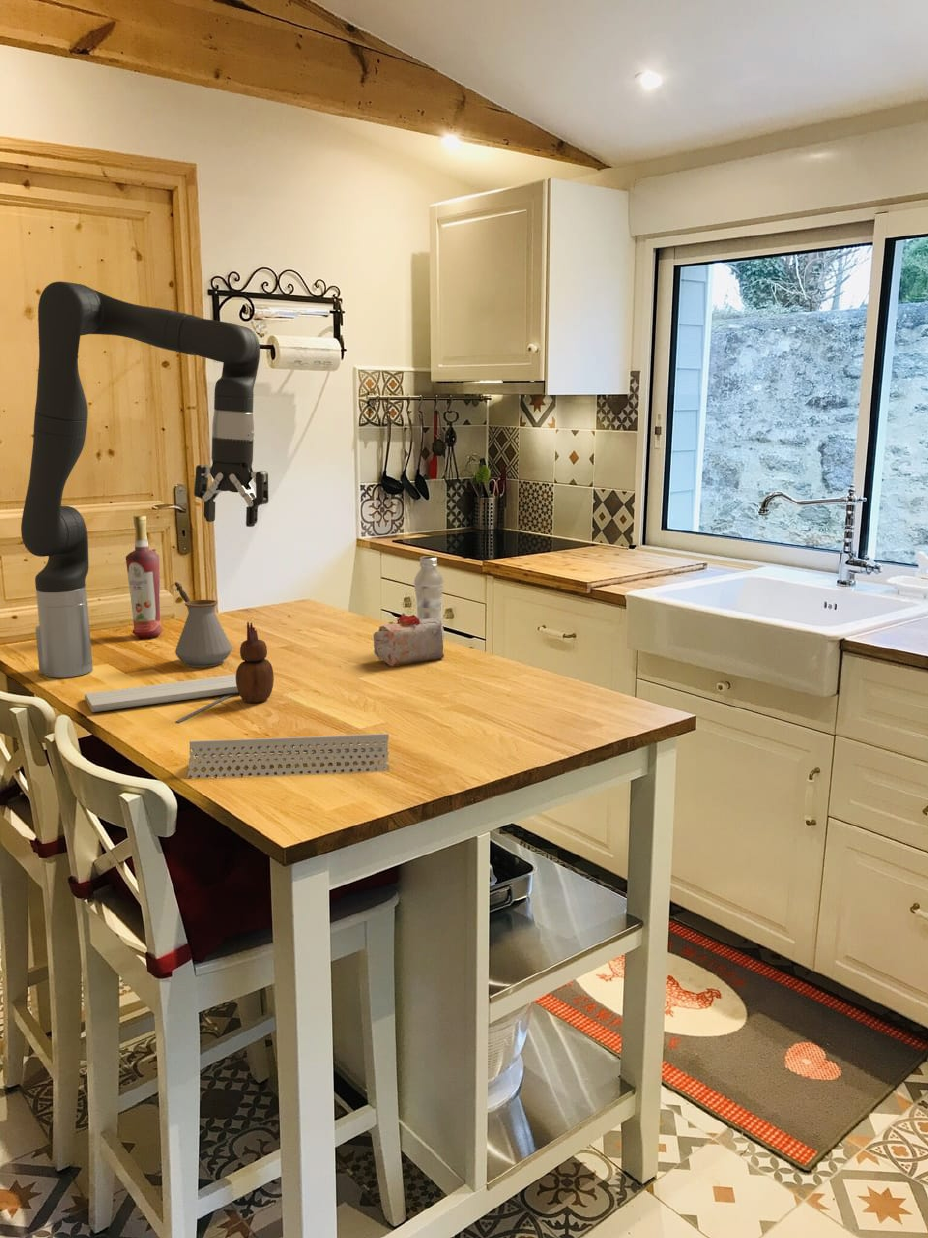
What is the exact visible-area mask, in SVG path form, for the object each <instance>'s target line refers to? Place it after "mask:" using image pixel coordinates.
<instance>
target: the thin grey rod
mask: <svg viewBox="0 0 928 1238" xmlns="http://www.w3.org/2000/svg"><path fill="white" fill-rule="evenodd" d="M236 694H238V693H231V694H225V695H224V696H223V697H221V698H219V699H217V700H215V701H213V702H211V703H209V704H207V705H205V706H203V707H201V708H199V709H197V710H195V711H193V712H191V713H189V714H188V715H185V716H183V717H181V718H180V719H178V720H177V719H176V720H175V723H176V722H180V723H182V722H185V721H186V720H188V719H190V718H192V717H194V716H196V715H198V714H200V713H202V712H204V711H206V710H208V709H210V708H212V707H213V706H215V705H217V704H219V703H221V702H223V701H225V700H227V699H230V698H231V697H233V696H235V695H236ZM207 708H208V709H207ZM205 709H206V710H205ZM203 710H204V711H203ZM201 711H202V712H201ZM199 712H200V713H199ZM197 713H198V714H197ZM195 714H196V715H195ZM193 715H194V716H193ZM191 716H192V717H191ZM189 717H190V718H189ZM185 719H186V720H185ZM181 721H182V722H181Z"/></svg>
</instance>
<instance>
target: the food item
mask: <svg viewBox="0 0 928 1238" xmlns="http://www.w3.org/2000/svg"><path fill="white" fill-rule="evenodd" d="M400 615H401V616H400V617H398V618H397V619H396V620H397V622H394V623H389V624H384V625H380V626H379V627H378V631H375V632H374V633H373V635H372V636H373V646H374V649H373V653H374V655H375V656H376V657H377V658H378V657H379V659H380V660H382V661H383V662H385V663H386V664H387V665H388V666H390V667H399V666H404V665H407V664H408V665H409V664H416V663H421V662H428V661H430V660H431V661H435V659H436V660H440V659H441V660H442V659H444V657H445V653H444V640H442V630H441V624H440V623H438V622H437V621H436V620H435V619H432V618H427V619H421V620H419V618H417V615H416V616H415V615H414V614H412V615H410V616H408V615H406V613H404V612H403V613H402V614H400Z"/></svg>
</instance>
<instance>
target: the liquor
mask: <svg viewBox="0 0 928 1238" xmlns="http://www.w3.org/2000/svg"><path fill="white" fill-rule="evenodd" d="M132 519H133V525H134V530H135V535H134V536H135V541H134V542H135V543H134V550H133V551H131V552H130V553H128V554H127V555H126V556H125V565H126V571H127V573H126V574H127V581H128V587H129V589H128V590H129V595H130V602H131V603H130V604H131V611H132V621H133V630H132V634H133V635H135V637H136V638H138V639H141V640H145V639H146V640H149V639H156V638H158V637H159V636H160V635H161V634H162V633H163V631H164V629H163V627H162V621H161V594H160V593H161V590H160V589H161V587H160V586H161V585H160V582H161V581H160V579H161V576H160V573H161V572H160V554H158V553H156V551H153V550H150V549H149V548H150V547H149V543H148V537H147V530H146V528H147V517H146V515H135V516H134V515H133V518H132ZM155 637H156V638H155Z"/></svg>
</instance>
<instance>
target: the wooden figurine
mask: <svg viewBox="0 0 928 1238" xmlns="http://www.w3.org/2000/svg"><path fill="white" fill-rule="evenodd" d="M267 649H268V648H267V645H266V642H265V641H264V640H262V639H259V635H258V630H256V627H254V626H253V622H249V621H247V622H246V640H244V641H243V642H242V643H241V644H240V648H239V654H240V659H241V660H242V662H240V663H239V665H238V666H237V667H236V672H235V674H236V685H237V689H238V694H239V696H240V698H241V700H242V701H244V702H245V703H247V704H248V703H251V704H257V703H263V702H264V701H267V700H268V699H269V697H270V696H271V694H272V692H273V687H274V679H275V678H274V677H275V676H274V670H273V666H272V663H270V661H269V660H268V659H266V657H267V656H268V650H267Z"/></svg>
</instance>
